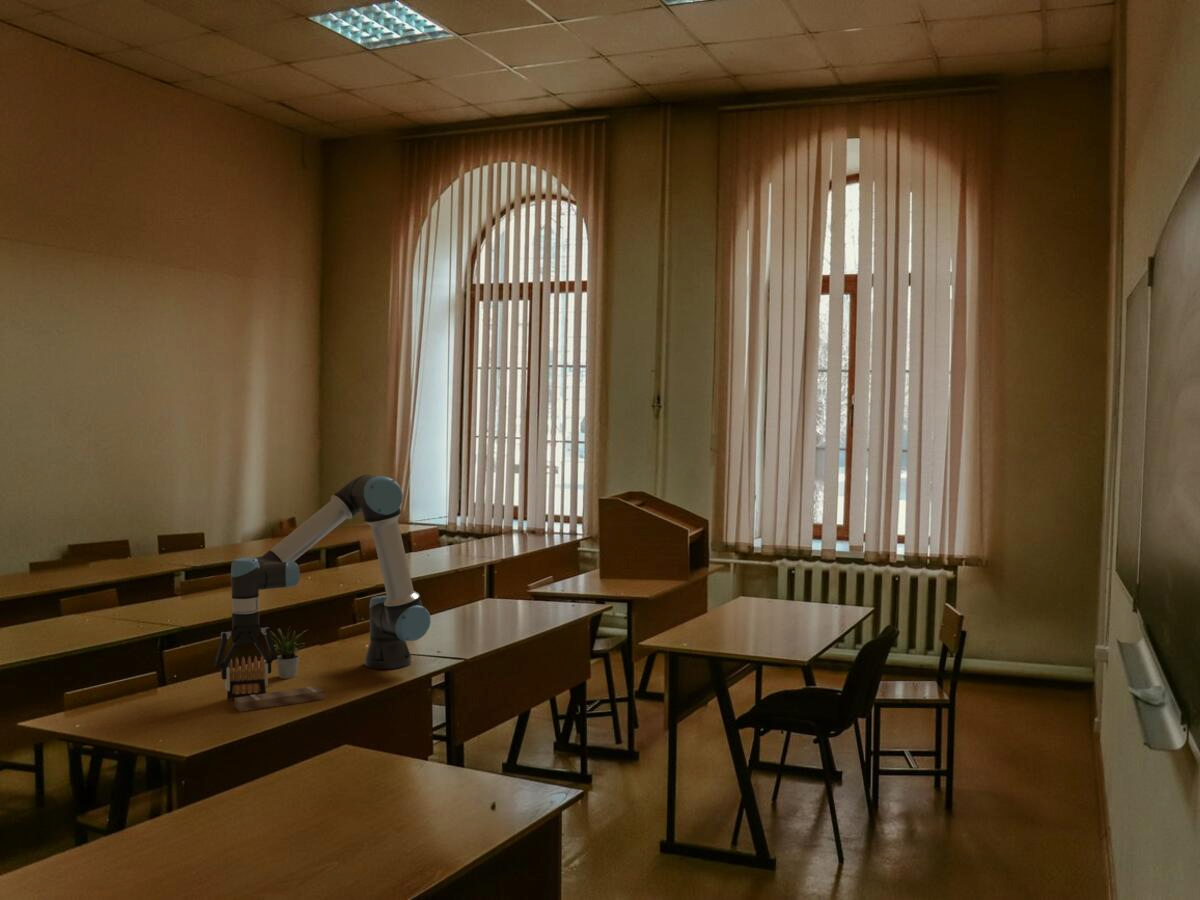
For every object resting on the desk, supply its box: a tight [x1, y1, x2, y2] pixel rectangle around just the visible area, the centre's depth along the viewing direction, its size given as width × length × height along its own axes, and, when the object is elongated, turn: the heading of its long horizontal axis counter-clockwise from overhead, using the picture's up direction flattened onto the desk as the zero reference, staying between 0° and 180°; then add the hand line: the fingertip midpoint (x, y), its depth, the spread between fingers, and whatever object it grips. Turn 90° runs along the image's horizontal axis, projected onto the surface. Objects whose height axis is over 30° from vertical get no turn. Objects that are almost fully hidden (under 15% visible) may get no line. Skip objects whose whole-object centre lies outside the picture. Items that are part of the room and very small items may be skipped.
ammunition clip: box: [226, 655, 267, 700], centre depth 300 cm, size 11×2×12 cm, turn 103°
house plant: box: [270, 626, 309, 680], centre depth 325 cm, size 14×14×16 cm
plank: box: [233, 685, 326, 713], centre depth 295 cm, size 24×6×3 cm, turn 122°
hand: (246, 687), depth 300 cm, fingers closed on ammunition clip, 10 cm apart
